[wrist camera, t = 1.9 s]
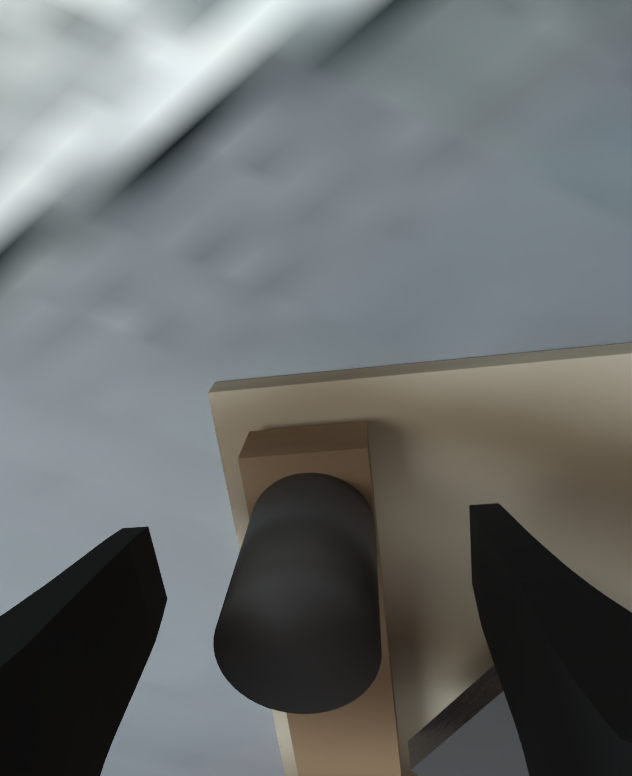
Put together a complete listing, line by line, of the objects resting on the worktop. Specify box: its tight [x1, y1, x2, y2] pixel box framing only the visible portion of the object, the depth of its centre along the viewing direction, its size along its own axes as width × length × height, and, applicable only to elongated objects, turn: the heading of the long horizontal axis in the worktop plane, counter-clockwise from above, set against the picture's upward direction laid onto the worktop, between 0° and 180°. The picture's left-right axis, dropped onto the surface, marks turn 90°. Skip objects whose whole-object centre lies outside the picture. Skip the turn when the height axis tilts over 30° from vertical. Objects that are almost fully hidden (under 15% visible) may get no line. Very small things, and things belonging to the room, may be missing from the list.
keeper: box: [408, 665, 529, 776], centre depth 16 cm, size 6×4×4 cm
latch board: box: [208, 343, 632, 776], centre depth 18 cm, size 19×14×1 cm
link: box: [214, 421, 402, 776], centre depth 15 cm, size 17×4×5 cm, turn 7°
